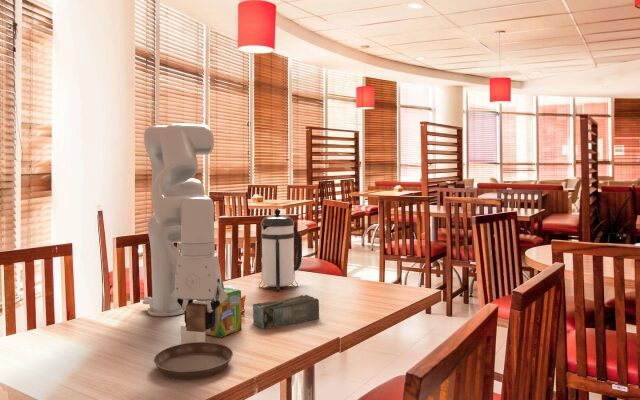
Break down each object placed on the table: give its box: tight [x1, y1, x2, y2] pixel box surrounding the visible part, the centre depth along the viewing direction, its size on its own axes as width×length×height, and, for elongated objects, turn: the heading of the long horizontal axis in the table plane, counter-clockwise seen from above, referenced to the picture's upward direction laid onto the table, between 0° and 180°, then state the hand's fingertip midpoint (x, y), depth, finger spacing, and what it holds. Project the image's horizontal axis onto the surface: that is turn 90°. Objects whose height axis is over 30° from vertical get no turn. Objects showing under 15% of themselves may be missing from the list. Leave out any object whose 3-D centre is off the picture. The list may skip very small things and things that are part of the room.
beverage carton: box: [252, 294, 320, 330], centre depth 154 cm, size 8×19×7 cm, turn 121°
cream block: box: [179, 322, 206, 344], centre depth 132 cm, size 4×4×6 cm
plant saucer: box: [153, 341, 234, 380], centre depth 119 cm, size 18×18×3 cm
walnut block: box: [186, 300, 208, 332], centre depth 121 cm, size 4×4×6 cm
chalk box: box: [196, 277, 242, 338], centre depth 144 cm, size 9×9×15 cm
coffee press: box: [258, 208, 303, 293], centre depth 197 cm, size 17×16×30 cm
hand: (200, 326), depth 121 cm, fingers closed on walnut block, 4 cm apart
